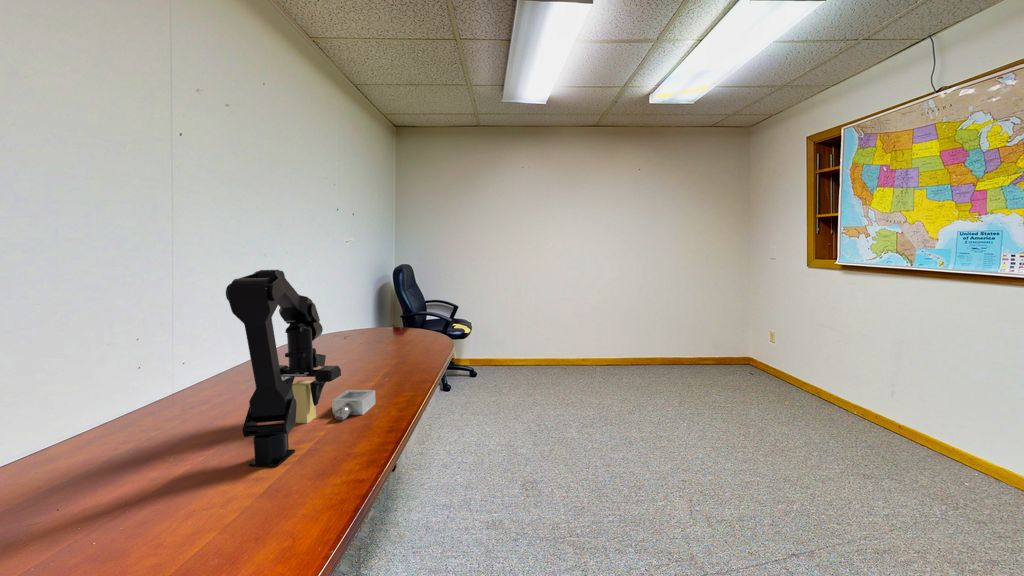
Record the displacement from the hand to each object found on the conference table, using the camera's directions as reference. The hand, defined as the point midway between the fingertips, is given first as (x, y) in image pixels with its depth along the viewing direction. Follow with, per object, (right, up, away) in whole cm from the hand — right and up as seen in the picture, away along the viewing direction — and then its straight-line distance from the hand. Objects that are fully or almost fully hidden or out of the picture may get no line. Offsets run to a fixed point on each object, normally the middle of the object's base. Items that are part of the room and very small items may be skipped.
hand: (303, 405), depth 106 cm
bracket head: (+11, -3, +8) cm, 13 cm away
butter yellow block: (0, -4, 0) cm, 4 cm away
